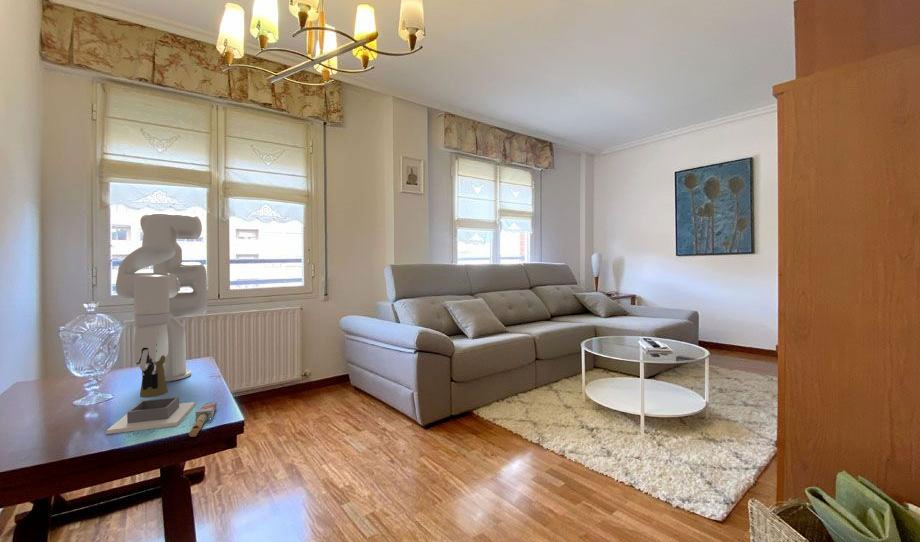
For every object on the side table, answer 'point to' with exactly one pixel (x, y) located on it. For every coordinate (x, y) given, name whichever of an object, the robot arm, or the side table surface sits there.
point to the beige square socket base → (152, 415)
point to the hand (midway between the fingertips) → (154, 385)
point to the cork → (161, 382)
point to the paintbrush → (202, 417)
